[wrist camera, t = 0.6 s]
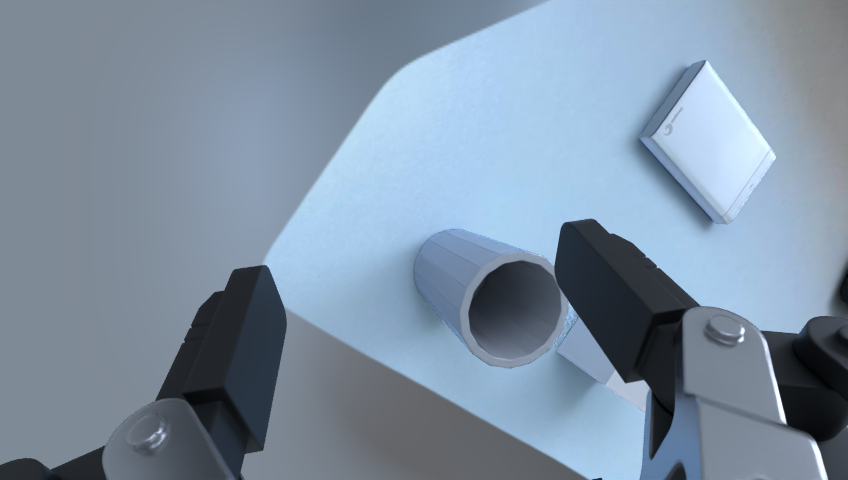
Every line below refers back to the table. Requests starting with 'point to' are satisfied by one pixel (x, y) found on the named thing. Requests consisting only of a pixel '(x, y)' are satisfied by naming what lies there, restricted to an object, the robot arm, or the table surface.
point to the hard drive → (708, 143)
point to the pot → (492, 296)
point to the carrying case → (845, 291)
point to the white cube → (600, 365)
